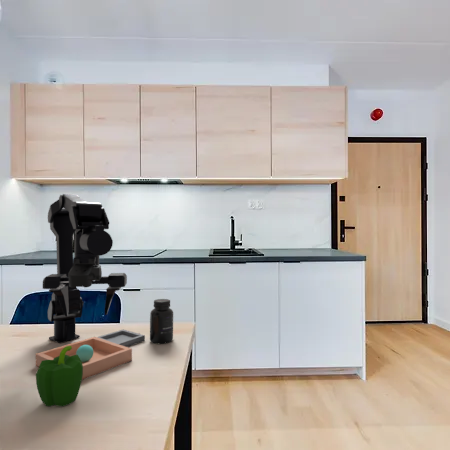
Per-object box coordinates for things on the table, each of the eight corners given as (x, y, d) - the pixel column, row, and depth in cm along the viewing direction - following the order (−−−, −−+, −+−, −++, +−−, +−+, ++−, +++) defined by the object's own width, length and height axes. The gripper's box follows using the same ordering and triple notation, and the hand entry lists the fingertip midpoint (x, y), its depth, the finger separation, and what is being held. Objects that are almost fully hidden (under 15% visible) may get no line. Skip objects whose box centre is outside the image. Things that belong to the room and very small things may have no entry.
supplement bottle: (168, 345, 97) (168, 303, 97) (145, 343, 98) (146, 302, 98) (176, 337, 104) (176, 298, 104) (155, 336, 105) (155, 297, 105)
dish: (35, 366, 82) (35, 353, 82) (94, 347, 95) (94, 336, 95) (71, 384, 73) (71, 370, 73) (131, 360, 86) (131, 348, 86)
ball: (72, 362, 84) (72, 345, 84) (87, 357, 87) (87, 341, 87) (81, 365, 81) (81, 349, 81) (96, 360, 84) (96, 344, 84)
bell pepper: (52, 417, 60) (53, 361, 60) (27, 404, 64) (28, 352, 65) (93, 397, 67) (93, 347, 67) (68, 387, 72) (68, 339, 72)
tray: (94, 343, 99) (94, 337, 99) (123, 334, 107) (123, 329, 107) (116, 350, 93) (116, 344, 93) (144, 340, 101) (144, 335, 101)
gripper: (34, 255, 75) (33, 326, 75) (122, 255, 78) (121, 323, 78) (50, 251, 86) (50, 313, 86) (127, 251, 89) (126, 310, 89)
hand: (86, 315), depth 84 cm, fingers open, 9 cm apart
